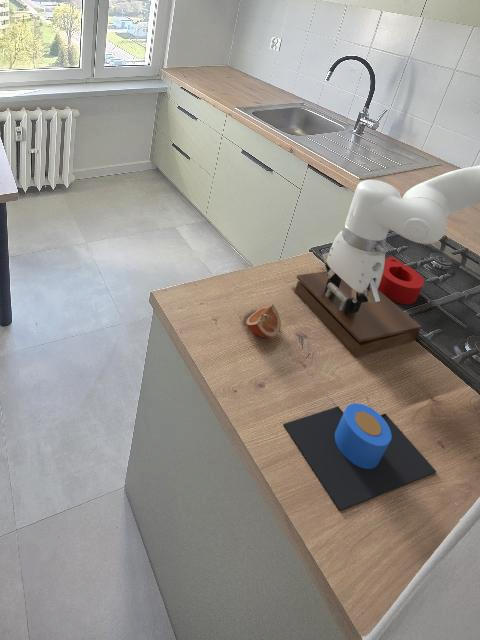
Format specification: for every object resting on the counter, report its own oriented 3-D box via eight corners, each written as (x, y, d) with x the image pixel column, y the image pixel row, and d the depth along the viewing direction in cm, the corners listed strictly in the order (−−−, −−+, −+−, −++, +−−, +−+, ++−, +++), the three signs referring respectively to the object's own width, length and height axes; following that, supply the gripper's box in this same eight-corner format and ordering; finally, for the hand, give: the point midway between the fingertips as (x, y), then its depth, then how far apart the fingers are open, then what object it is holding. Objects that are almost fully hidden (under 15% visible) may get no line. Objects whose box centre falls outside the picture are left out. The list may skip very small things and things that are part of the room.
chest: (354, 360, 88) (360, 346, 86) (293, 294, 104) (297, 281, 102) (413, 343, 92) (420, 329, 91) (346, 282, 109) (351, 269, 107)
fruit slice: (256, 311, 99) (260, 295, 97) (284, 329, 94) (289, 313, 92) (238, 331, 93) (243, 315, 91) (267, 351, 89) (272, 334, 87)
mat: (369, 397, 81) (370, 396, 81) (435, 472, 69) (436, 471, 69) (283, 425, 75) (283, 423, 75) (339, 511, 64) (340, 510, 64)
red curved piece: (415, 315, 100) (425, 294, 97) (369, 297, 104) (378, 277, 102) (412, 271, 114) (420, 251, 111) (372, 257, 118) (379, 238, 116)
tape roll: (355, 421, 76) (366, 398, 73) (388, 462, 70) (402, 439, 67) (325, 431, 74) (335, 408, 72) (357, 474, 68) (369, 450, 66)
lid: (359, 342, 85) (367, 325, 84) (296, 277, 102) (301, 262, 100) (420, 329, 91) (429, 313, 89) (351, 269, 107) (357, 255, 105)
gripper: (414, 261, 81) (386, 329, 88) (345, 211, 96) (325, 273, 103) (384, 267, 79) (357, 336, 86) (318, 215, 94) (300, 278, 101)
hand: (340, 301), depth 94 cm, fingers closed on lid, 5 cm apart
